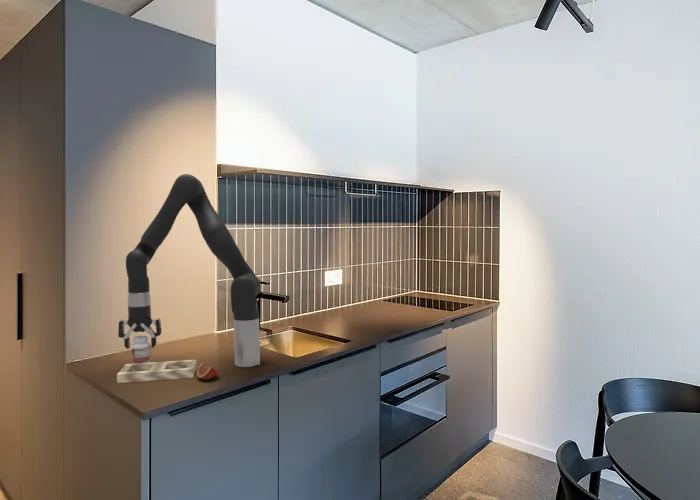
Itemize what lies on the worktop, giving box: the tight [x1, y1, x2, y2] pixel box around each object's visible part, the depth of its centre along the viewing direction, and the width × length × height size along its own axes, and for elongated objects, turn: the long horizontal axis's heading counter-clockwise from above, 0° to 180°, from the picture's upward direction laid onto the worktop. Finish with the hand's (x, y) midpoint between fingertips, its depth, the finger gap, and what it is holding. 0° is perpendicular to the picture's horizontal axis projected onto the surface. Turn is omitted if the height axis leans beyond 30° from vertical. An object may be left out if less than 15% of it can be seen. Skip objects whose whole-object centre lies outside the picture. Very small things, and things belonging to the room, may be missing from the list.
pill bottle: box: [131, 335, 152, 364], centre depth 171 cm, size 6×6×11 cm
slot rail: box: [116, 359, 198, 384], centre depth 162 cm, size 24×11×3 cm, turn 102°
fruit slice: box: [196, 361, 219, 381], centre depth 159 cm, size 8×7×5 cm
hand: (140, 347), depth 171 cm, fingers open, 8 cm apart
